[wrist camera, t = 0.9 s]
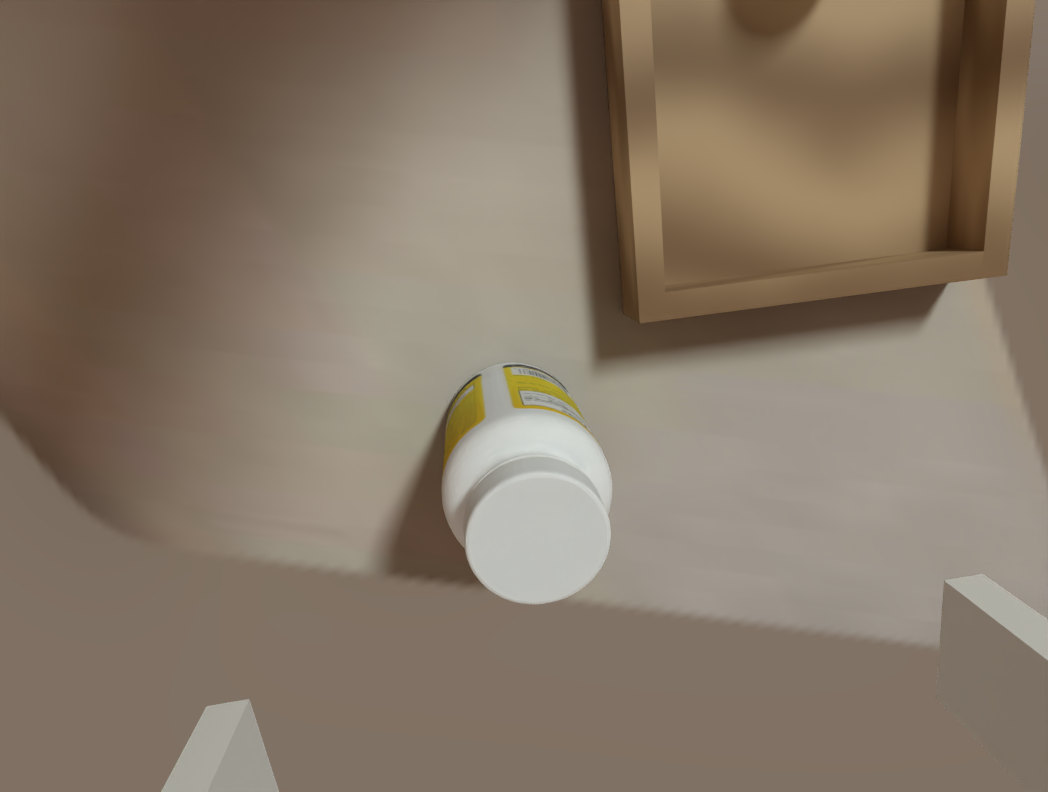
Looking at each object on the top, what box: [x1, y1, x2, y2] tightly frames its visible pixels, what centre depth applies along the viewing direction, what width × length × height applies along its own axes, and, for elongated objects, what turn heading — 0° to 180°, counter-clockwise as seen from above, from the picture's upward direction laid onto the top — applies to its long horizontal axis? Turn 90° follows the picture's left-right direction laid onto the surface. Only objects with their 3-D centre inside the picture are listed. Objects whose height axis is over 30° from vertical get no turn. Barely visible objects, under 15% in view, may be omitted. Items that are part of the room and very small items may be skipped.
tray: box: [601, 0, 1035, 323], centre depth 22 cm, size 16×14×2 cm
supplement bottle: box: [442, 363, 612, 604], centre depth 21 cm, size 5×5×10 cm
